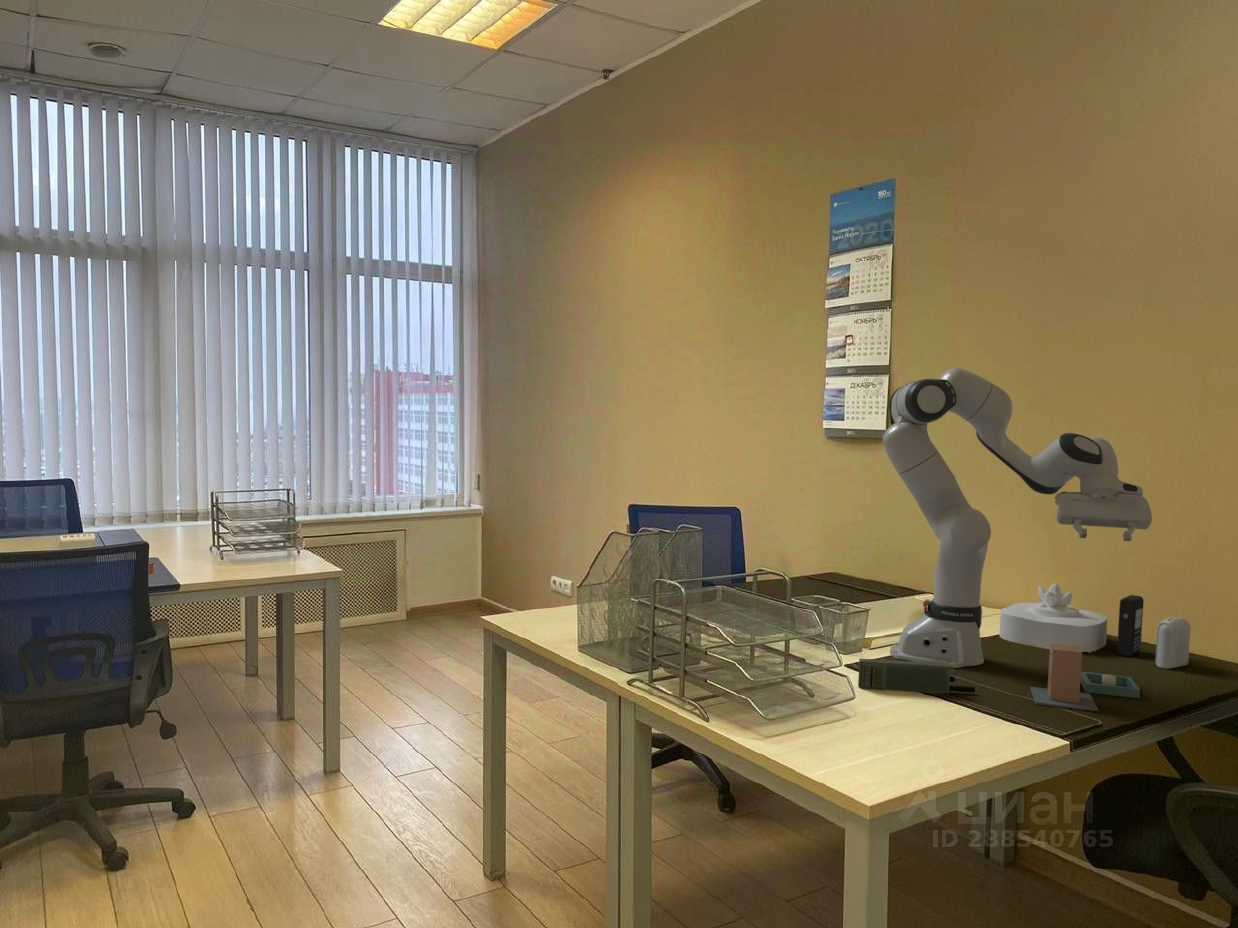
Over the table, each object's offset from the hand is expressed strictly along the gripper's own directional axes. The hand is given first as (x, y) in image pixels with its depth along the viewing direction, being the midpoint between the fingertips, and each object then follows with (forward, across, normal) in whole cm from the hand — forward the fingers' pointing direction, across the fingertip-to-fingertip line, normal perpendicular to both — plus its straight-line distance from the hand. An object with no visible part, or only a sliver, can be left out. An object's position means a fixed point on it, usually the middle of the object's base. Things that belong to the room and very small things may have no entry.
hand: (1105, 538), depth 215 cm
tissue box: (-3, -6, +51) cm, 51 cm away
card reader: (+3, +12, +45) cm, 46 cm away
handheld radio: (+45, -40, +3) cm, 61 cm away
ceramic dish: (+30, +1, +17) cm, 35 cm away
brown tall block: (+40, -10, +7) cm, 42 cm away
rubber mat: (+40, -10, +7) cm, 42 cm away
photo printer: (+9, +20, +38) cm, 44 cm away
